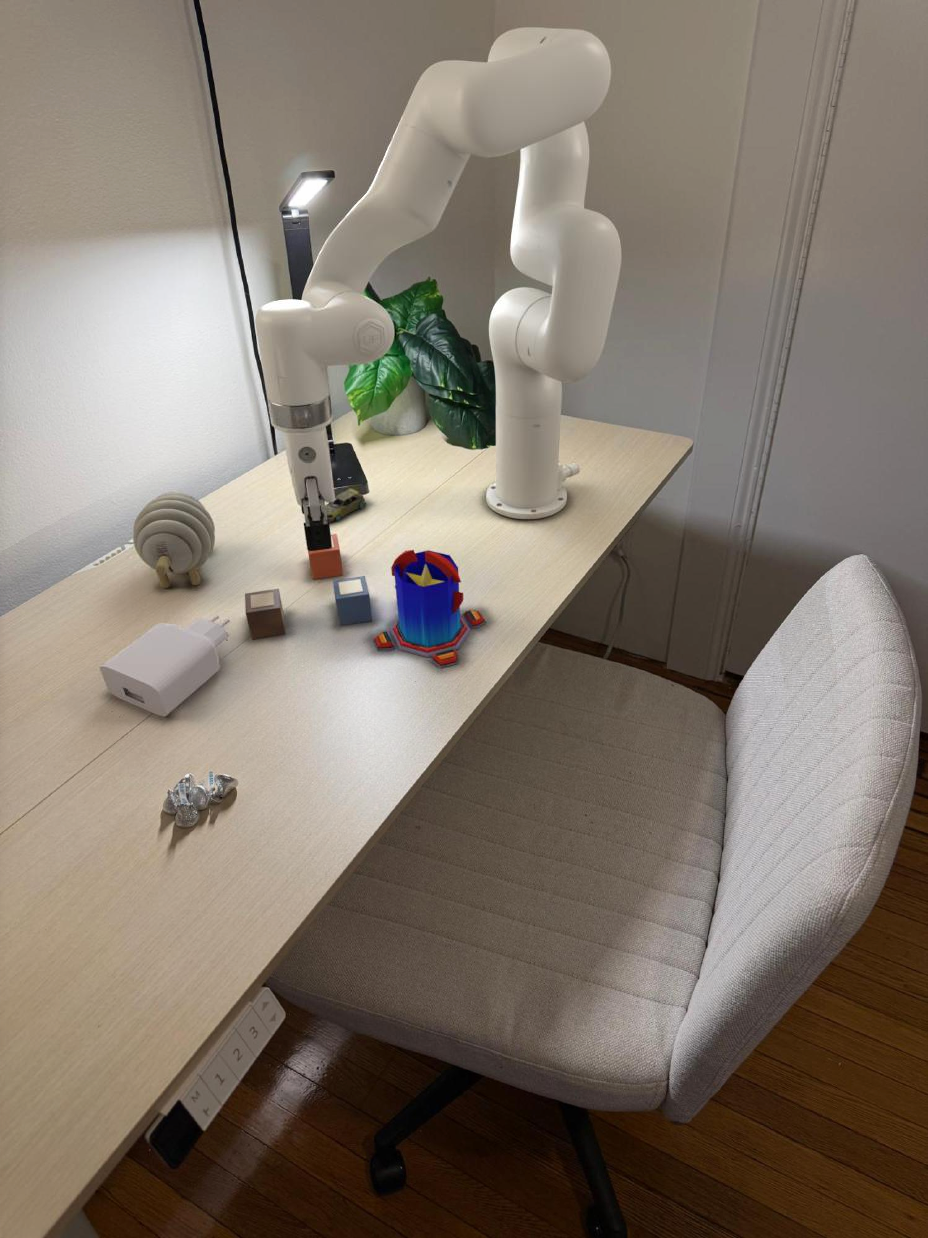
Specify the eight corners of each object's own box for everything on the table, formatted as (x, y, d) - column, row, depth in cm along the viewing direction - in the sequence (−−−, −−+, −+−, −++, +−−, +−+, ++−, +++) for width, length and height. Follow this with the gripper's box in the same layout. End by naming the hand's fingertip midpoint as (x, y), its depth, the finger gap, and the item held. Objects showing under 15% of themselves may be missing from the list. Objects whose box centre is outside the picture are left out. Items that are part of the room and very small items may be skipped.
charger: (255, 643, 102) (167, 720, 91) (199, 623, 105) (109, 694, 95) (248, 613, 99) (157, 688, 88) (191, 593, 102) (97, 663, 92)
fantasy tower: (365, 647, 100) (355, 566, 93) (409, 595, 109) (403, 516, 102) (453, 671, 96) (449, 589, 89) (491, 615, 105) (491, 535, 98)
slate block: (368, 601, 108) (364, 575, 105) (372, 620, 105) (369, 593, 102) (336, 606, 107) (332, 579, 105) (339, 625, 104) (335, 598, 101)
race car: (314, 517, 126) (311, 503, 124) (353, 497, 130) (351, 483, 129) (329, 525, 124) (327, 510, 122) (368, 504, 128) (367, 490, 127)
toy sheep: (225, 536, 122) (209, 469, 115) (220, 602, 109) (201, 530, 102) (152, 545, 121) (131, 477, 114) (137, 612, 107) (113, 541, 101)
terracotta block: (340, 558, 116) (336, 533, 114) (343, 574, 113) (339, 548, 110) (310, 563, 116) (306, 537, 113) (312, 579, 112) (308, 553, 110)
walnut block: (284, 614, 106) (278, 587, 104) (285, 634, 103) (280, 607, 100) (251, 619, 106) (244, 592, 103) (251, 639, 102) (245, 612, 100)
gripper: (338, 434, 94) (352, 560, 104) (325, 380, 107) (338, 496, 118) (272, 441, 93) (292, 568, 103) (266, 385, 106) (285, 502, 116)
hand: (316, 530), depth 110 cm, fingers open, 9 cm apart
